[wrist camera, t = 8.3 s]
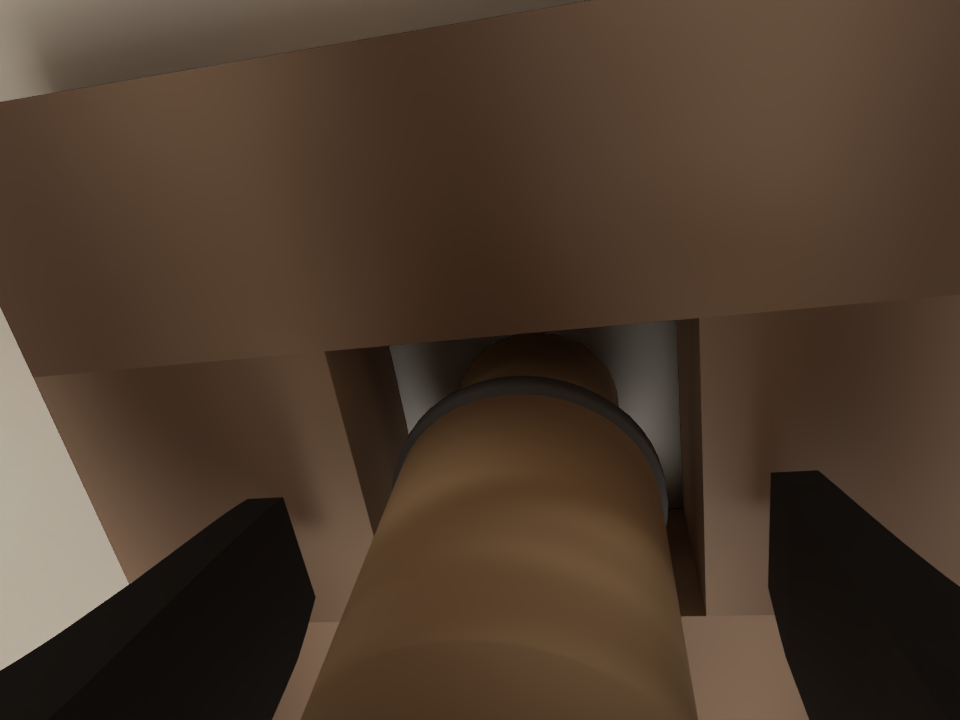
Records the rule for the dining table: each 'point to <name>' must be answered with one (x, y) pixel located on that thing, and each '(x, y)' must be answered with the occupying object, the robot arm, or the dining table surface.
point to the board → (509, 275)
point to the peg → (517, 560)
